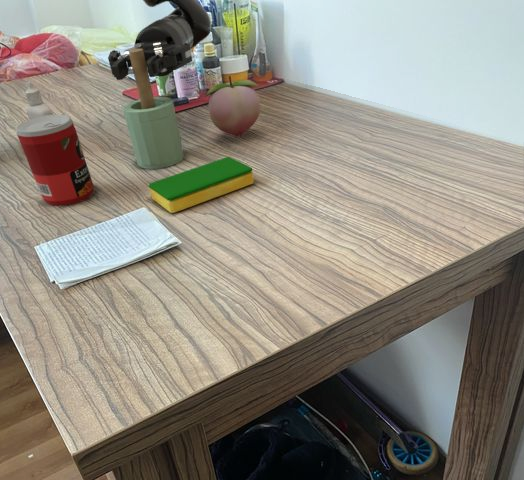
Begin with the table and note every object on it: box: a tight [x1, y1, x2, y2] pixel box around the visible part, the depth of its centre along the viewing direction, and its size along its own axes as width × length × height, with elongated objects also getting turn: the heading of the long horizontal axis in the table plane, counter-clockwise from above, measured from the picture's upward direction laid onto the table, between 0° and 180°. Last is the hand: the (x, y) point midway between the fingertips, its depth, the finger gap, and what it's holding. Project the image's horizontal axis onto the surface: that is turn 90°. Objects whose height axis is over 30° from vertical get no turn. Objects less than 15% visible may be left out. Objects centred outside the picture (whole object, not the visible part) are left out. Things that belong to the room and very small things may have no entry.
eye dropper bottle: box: [24, 81, 54, 120], centre depth 93 cm, size 4×6×12 cm
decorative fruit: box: [204, 75, 261, 137], centre depth 90 cm, size 9×8×10 cm
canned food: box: [15, 114, 95, 207], centre depth 76 cm, size 8×8×11 cm
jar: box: [122, 96, 185, 170], centre depth 85 cm, size 8×8×9 cm
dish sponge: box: [148, 156, 254, 214], centre depth 75 cm, size 7×14×2 cm, turn 124°
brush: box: [129, 49, 156, 109], centre depth 82 cm, size 3×3×16 cm
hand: (133, 70), depth 77 cm, fingers open, 4 cm apart
